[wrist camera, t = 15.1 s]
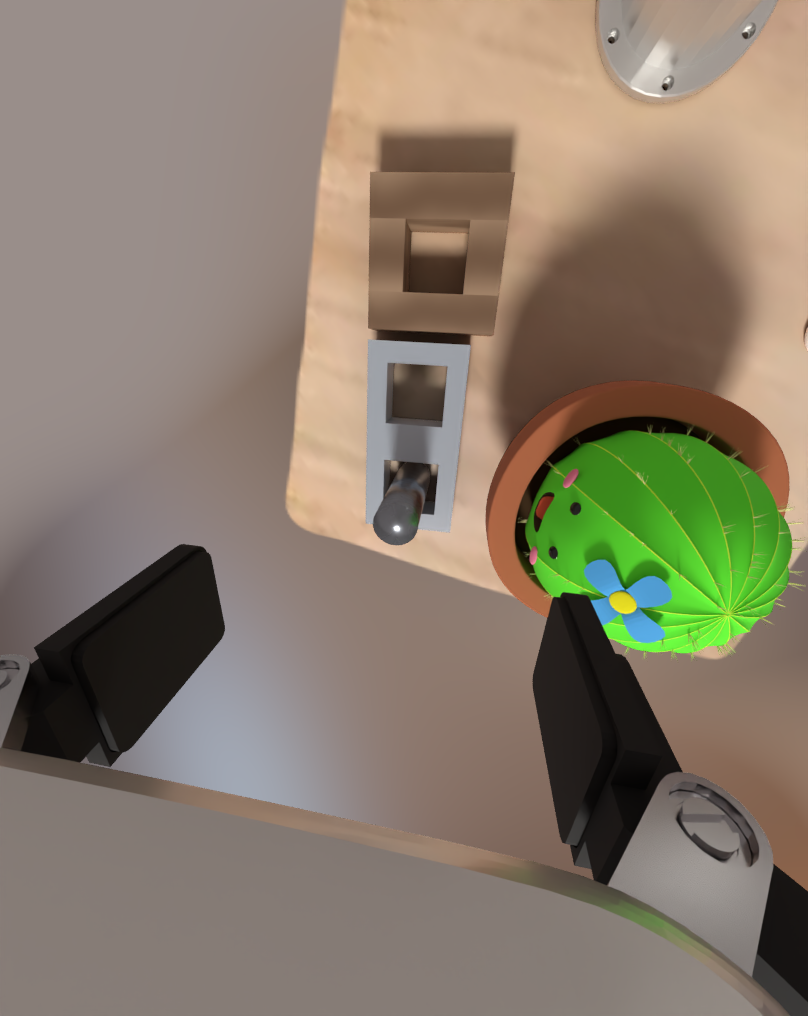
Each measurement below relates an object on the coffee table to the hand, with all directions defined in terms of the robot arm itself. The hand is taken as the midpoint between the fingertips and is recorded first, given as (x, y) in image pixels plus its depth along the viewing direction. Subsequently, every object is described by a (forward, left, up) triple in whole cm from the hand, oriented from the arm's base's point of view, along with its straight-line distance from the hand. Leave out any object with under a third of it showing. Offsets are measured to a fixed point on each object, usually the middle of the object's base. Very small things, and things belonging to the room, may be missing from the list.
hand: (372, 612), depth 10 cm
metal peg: (+8, -3, -36) cm, 36 cm away
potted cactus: (+6, +16, -36) cm, 40 cm away
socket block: (-14, -2, -36) cm, 38 cm away
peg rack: (+3, -3, -36) cm, 36 cm away
